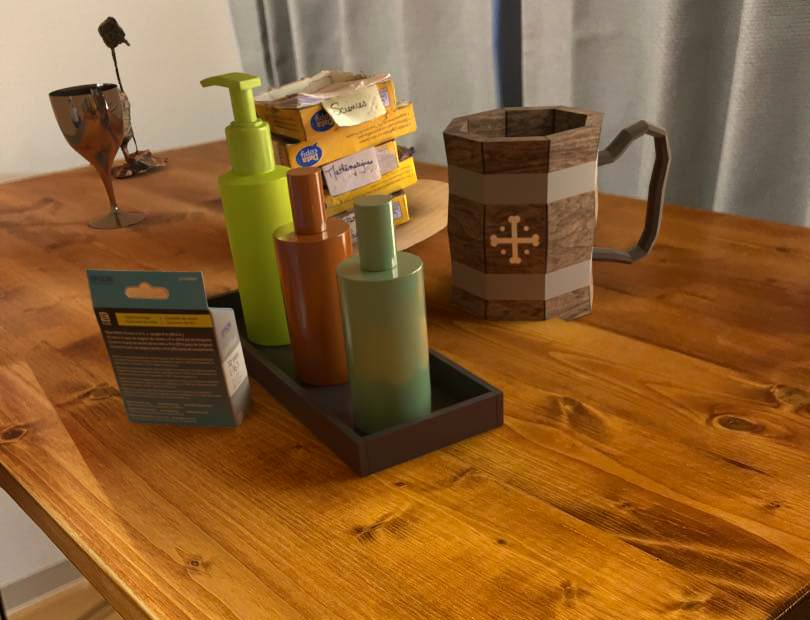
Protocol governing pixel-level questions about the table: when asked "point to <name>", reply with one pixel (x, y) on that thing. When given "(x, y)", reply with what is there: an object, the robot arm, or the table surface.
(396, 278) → the green bottle
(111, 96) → the wine glass
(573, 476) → the table surface
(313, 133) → the yellow box stack
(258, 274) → the soap dispenser
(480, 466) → the table surface
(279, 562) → the table surface
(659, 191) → the mug
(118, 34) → the plant with pod
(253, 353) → the tray
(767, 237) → the table surface
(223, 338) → the label tape box
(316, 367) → the amber bottle
